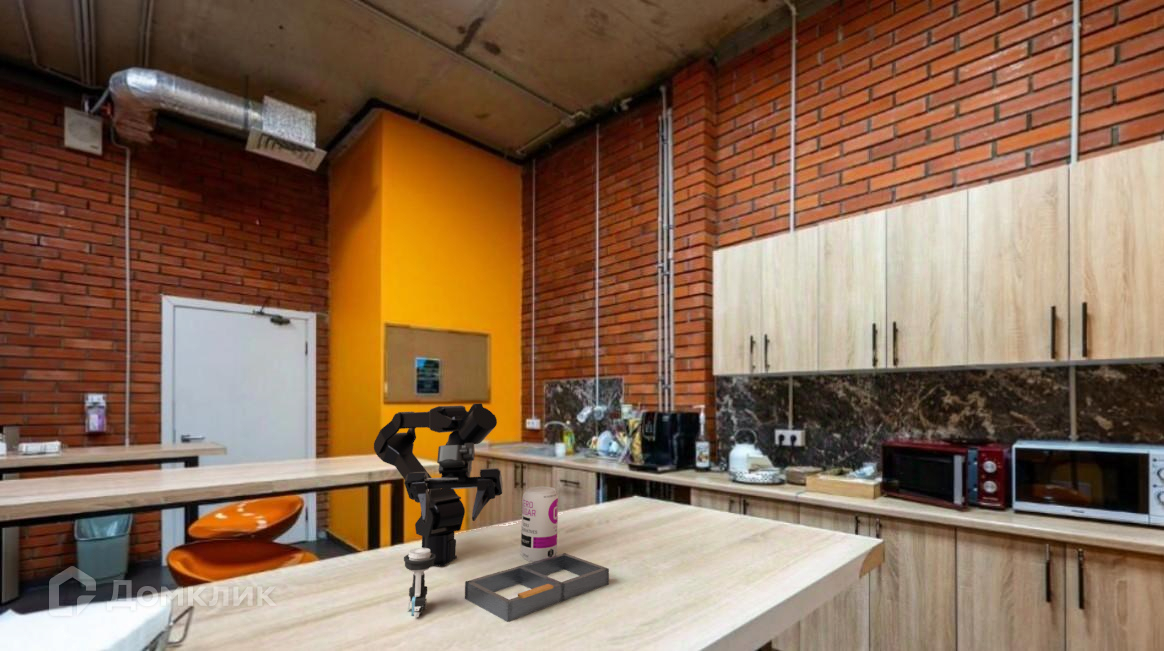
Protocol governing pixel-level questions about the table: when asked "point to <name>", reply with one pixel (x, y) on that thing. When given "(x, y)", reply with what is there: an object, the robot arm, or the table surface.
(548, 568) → the grey divided tray
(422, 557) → the push button
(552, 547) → the supplement can
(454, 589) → the table surface
